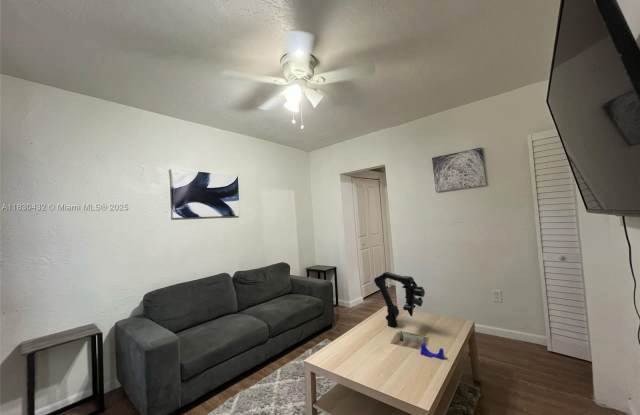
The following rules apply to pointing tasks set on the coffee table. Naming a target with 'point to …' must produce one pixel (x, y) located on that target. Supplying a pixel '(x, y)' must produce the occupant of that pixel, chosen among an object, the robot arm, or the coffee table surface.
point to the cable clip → (429, 354)
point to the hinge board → (407, 344)
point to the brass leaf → (414, 334)
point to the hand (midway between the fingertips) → (411, 316)
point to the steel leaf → (411, 338)
